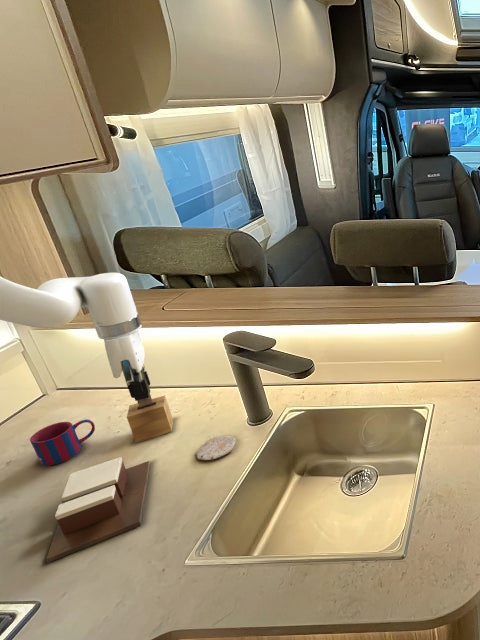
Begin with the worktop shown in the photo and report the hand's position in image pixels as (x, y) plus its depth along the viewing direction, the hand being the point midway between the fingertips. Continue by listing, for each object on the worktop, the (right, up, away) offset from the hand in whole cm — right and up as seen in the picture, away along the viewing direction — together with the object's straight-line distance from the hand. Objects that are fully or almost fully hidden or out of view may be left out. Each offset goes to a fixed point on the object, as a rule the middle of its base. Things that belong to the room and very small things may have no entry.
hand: (141, 390), depth 101 cm
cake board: (+7, -19, -16) cm, 26 cm away
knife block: (0, -12, +4) cm, 13 cm away
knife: (0, -11, +4) cm, 12 cm away
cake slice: (+8, -19, -19) cm, 28 cm away
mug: (-15, -14, -2) cm, 21 cm away
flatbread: (+20, -14, -1) cm, 24 cm away
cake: (+4, -17, -14) cm, 23 cm away
